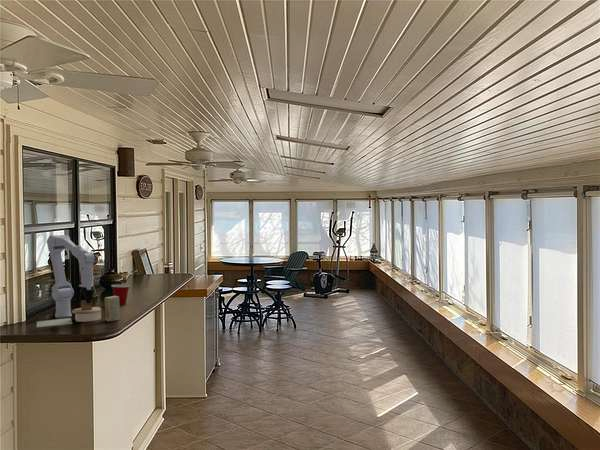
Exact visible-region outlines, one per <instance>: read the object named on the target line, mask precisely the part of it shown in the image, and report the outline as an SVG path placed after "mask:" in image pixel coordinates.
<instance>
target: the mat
mask: <svg viewBox="0 0 600 450" xmlns="http://www.w3.org/2000/svg"><path fill="white" fill-rule="evenodd" d="M72 324H73V321H72V318H70V317H69V318H68V317H67V318H56V319H49V320H39V321H36V328H43V327H54V326H55V327H56V326H64V325H72Z"/></svg>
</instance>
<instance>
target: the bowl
mask: <svg viewBox="0 0 600 450" xmlns="http://www.w3.org/2000/svg"><path fill="white" fill-rule="evenodd" d="M74 316H75V317H74V318H75V322H79V323H80V322H81V323H82V322H84V323H85V322H86V323H87V322H95V321H99V320H101V319H102V310H101V311H99V312H96V313H89V314H75V315H74Z"/></svg>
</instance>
